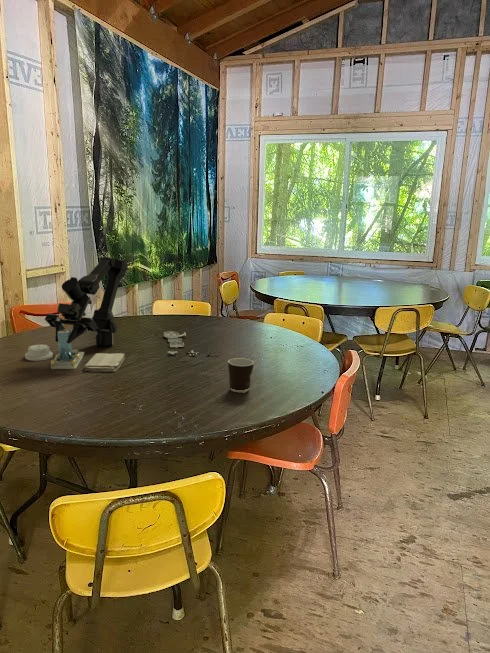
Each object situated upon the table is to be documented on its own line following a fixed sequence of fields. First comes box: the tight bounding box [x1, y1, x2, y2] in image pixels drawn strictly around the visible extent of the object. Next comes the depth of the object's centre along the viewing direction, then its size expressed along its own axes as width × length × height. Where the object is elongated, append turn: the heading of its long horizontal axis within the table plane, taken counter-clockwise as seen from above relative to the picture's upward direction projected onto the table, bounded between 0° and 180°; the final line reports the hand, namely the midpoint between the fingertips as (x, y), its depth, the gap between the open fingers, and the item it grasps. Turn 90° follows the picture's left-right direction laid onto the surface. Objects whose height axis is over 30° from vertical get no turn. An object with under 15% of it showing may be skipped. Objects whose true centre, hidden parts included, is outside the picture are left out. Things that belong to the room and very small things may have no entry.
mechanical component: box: [24, 344, 54, 362], centre depth 179 cm, size 10×4×10 cm
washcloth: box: [84, 352, 126, 373], centre depth 174 cm, size 12×18×3 cm, turn 5°
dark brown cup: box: [227, 357, 255, 390], centre depth 156 cm, size 12×9×10 cm
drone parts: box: [163, 330, 198, 356], centre depth 206 cm, size 23×35×3 cm, turn 11°
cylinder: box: [57, 328, 73, 360], centre depth 169 cm, size 5×5×10 cm
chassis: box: [50, 348, 85, 370], centre depth 175 cm, size 8×18×3 cm, turn 9°
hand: (62, 342), depth 168 cm, fingers closed on cylinder, 5 cm apart
